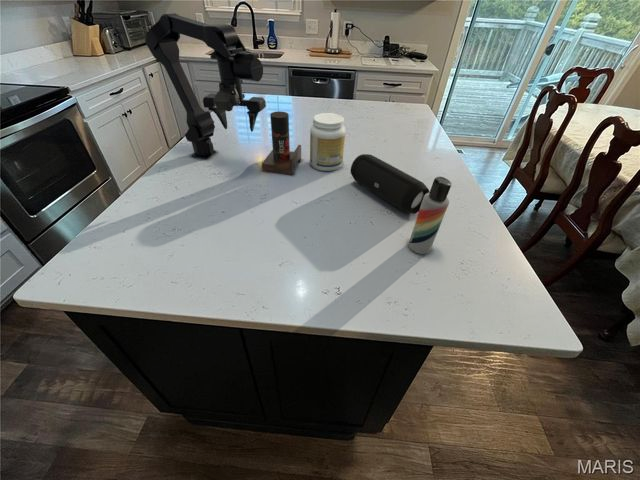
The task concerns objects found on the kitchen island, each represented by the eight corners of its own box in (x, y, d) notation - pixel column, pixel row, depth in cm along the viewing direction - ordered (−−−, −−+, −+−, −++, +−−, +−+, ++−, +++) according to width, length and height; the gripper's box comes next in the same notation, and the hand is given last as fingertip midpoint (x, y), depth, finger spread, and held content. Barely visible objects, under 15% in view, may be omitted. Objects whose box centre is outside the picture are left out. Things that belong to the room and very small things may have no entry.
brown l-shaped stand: (262, 171, 104) (260, 155, 100) (273, 156, 113) (272, 141, 109) (292, 175, 102) (291, 159, 98) (301, 160, 111) (301, 145, 107)
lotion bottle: (405, 240, 79) (426, 173, 66) (425, 239, 79) (450, 173, 66) (412, 255, 75) (435, 186, 61) (433, 254, 75) (461, 186, 62)
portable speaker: (347, 183, 100) (350, 155, 93) (368, 175, 105) (372, 148, 98) (404, 221, 85) (413, 191, 79) (426, 210, 90) (435, 181, 83)
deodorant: (285, 152, 109) (284, 110, 99) (292, 159, 105) (291, 116, 95) (270, 155, 106) (267, 112, 96) (277, 162, 102) (274, 118, 92)
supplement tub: (349, 164, 110) (354, 118, 99) (327, 176, 103) (330, 127, 92) (325, 154, 116) (327, 109, 105) (302, 163, 109) (302, 117, 98)
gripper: (186, 81, 83) (200, 136, 93) (248, 86, 80) (256, 142, 90) (206, 73, 91) (217, 124, 101) (263, 77, 88) (268, 129, 98)
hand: (239, 130), depth 97 cm, fingers open, 9 cm apart
